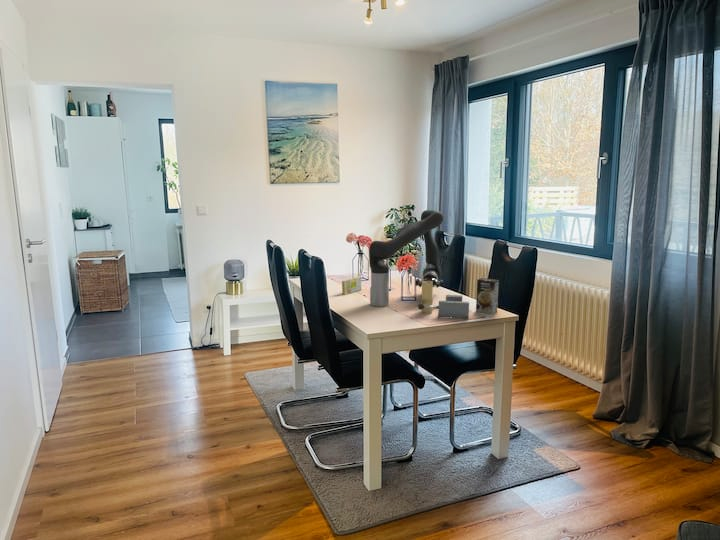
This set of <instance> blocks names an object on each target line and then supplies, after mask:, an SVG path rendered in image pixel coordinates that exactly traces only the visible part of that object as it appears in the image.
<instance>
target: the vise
mask: <svg viewBox="0 0 720 540" xmlns="http://www.w3.org/2000/svg"><path fill="white" fill-rule="evenodd" d="M423 308H431V309H432V310H438V314H437V315H438V317H449V318H448V319H458V318H463V319H462V320H470V319H469V316H470V302H469V301H462V302H461V301H446V300H438V305H432V306H423V304H422V303H419V304H418V305H417V309H418V310H420V311H421V310H422V309H423ZM438 317H437V318H438ZM450 317H452V318H450Z"/></svg>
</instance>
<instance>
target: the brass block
mask: <svg viewBox="0 0 720 540" xmlns="http://www.w3.org/2000/svg"><path fill="white" fill-rule="evenodd" d="M433 291H434V287H433V281H422V286H421V304H423V306H433V298H434V297H433ZM420 311H421V314H432V313H433V309H431V308H423V309H422V310H420Z"/></svg>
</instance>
